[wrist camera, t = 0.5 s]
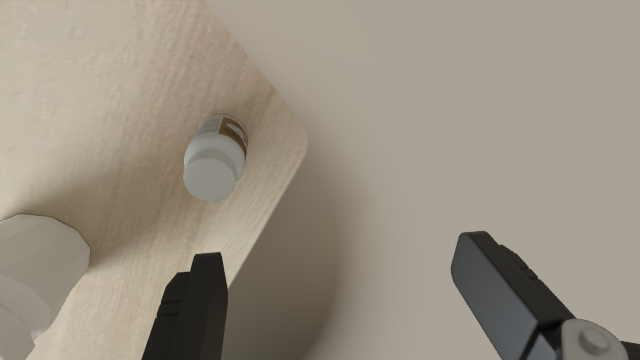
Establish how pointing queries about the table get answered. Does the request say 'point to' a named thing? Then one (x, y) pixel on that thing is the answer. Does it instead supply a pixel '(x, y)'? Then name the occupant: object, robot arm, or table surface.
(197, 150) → the pill bottle
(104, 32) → the table surface
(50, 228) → the vase
